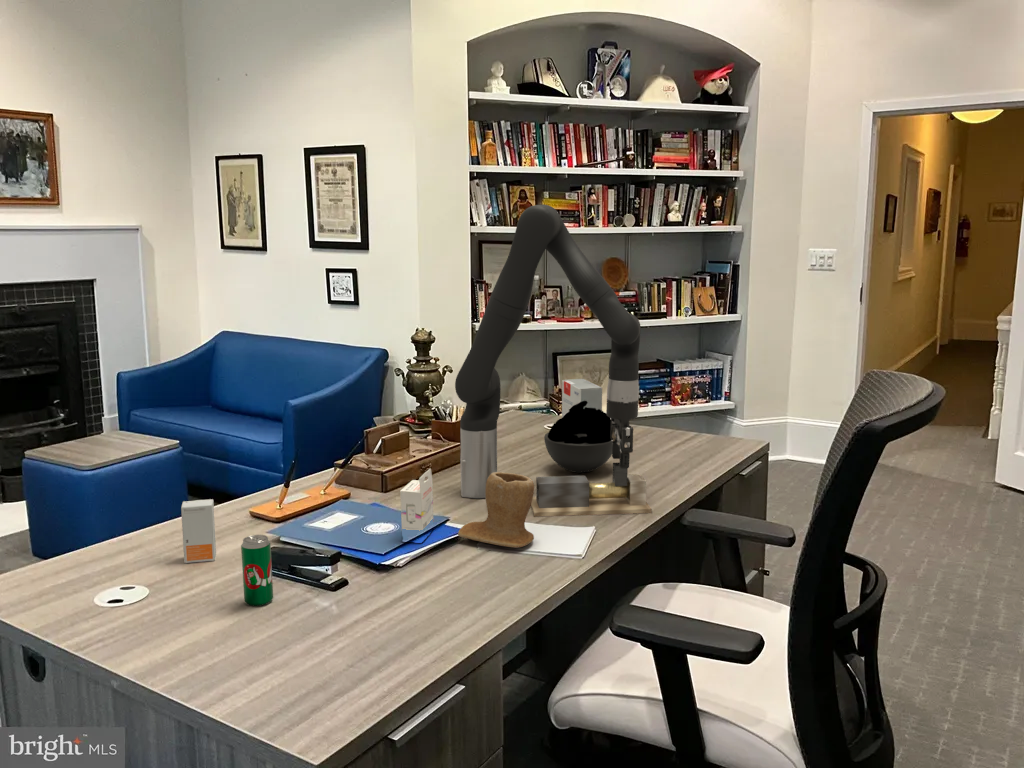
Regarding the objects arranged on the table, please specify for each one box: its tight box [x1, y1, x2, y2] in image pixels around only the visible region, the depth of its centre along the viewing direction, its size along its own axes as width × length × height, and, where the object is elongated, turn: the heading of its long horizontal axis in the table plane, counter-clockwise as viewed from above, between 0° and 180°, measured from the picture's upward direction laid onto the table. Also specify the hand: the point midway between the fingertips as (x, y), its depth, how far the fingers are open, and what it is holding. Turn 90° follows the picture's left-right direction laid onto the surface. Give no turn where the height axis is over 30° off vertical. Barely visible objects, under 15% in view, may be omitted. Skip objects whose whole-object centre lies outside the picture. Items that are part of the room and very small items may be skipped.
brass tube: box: [589, 462, 630, 499], centre depth 208 cm, size 17×4×8 cm, turn 95°
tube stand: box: [530, 473, 652, 518], centre depth 208 cm, size 28×12×7 cm, turn 95°
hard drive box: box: [561, 378, 603, 418], centre depth 266 cm, size 16×8×20 cm, turn 17°
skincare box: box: [180, 498, 217, 564], centre depth 175 cm, size 6×4×12 cm
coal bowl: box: [544, 401, 613, 474], centre depth 238 cm, size 20×20×19 cm
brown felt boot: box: [457, 471, 535, 548], centre depth 185 cm, size 15×12×15 cm
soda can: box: [240, 534, 274, 607], centre depth 155 cm, size 5×5×12 cm
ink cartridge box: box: [399, 467, 434, 531], centre depth 187 cm, size 9×5×15 cm, turn 168°
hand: (620, 463), depth 208 cm, fingers open, 8 cm apart
